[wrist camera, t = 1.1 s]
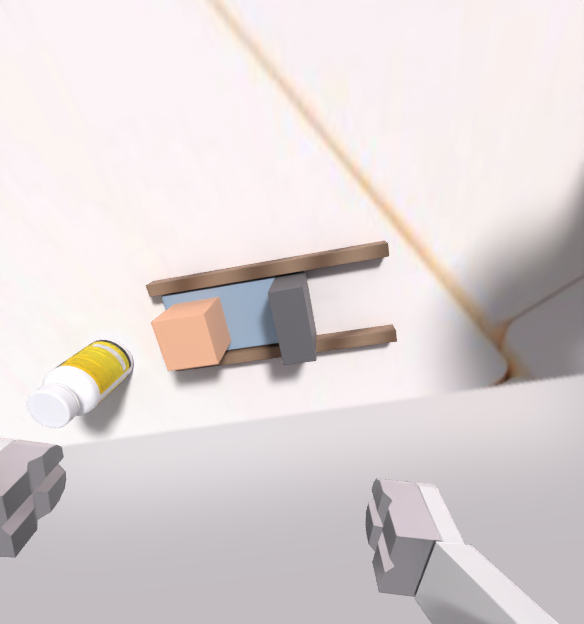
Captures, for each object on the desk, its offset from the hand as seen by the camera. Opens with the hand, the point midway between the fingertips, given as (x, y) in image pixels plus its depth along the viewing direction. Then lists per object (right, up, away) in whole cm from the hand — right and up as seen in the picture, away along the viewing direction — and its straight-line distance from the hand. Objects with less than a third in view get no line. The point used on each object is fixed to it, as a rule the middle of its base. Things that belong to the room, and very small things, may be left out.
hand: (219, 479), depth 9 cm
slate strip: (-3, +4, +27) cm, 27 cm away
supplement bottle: (-19, -1, +30) cm, 36 cm away
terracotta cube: (-8, +3, +26) cm, 27 cm away
